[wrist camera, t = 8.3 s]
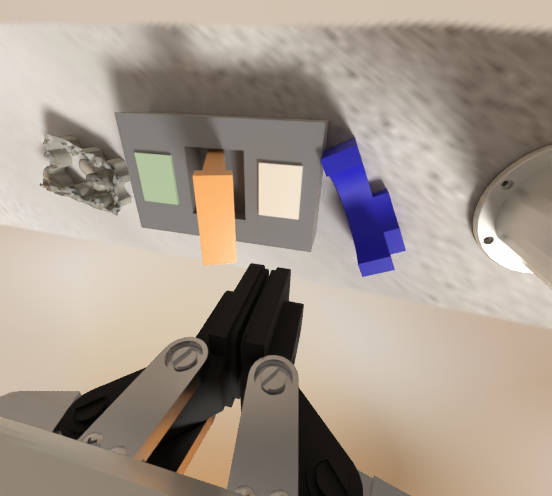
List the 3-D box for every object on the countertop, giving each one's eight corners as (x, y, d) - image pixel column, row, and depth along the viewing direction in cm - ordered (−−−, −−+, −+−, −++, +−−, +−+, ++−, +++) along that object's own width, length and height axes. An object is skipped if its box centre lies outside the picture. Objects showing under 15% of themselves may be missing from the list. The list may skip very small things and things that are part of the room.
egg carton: (65, 178, 37) (35, 185, 33) (64, 125, 33) (30, 127, 29) (132, 213, 37) (109, 224, 33) (138, 165, 33) (113, 171, 29)
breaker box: (329, 120, 25) (324, 122, 21) (315, 232, 31) (310, 253, 26) (148, 111, 29) (112, 112, 25) (167, 212, 35) (140, 228, 30)
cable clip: (400, 238, 29) (411, 265, 24) (360, 248, 31) (362, 276, 26) (370, 130, 25) (376, 136, 20) (325, 150, 27) (320, 159, 22)
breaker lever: (228, 147, 27) (232, 175, 16) (231, 206, 30) (236, 263, 19) (203, 146, 26) (192, 175, 16) (209, 207, 29) (203, 265, 19)
